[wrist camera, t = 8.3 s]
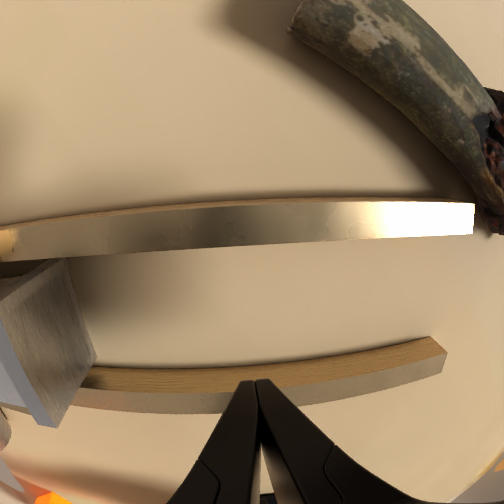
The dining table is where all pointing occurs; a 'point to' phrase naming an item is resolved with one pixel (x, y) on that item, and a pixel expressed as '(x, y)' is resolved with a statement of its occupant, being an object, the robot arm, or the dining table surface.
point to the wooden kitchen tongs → (241, 234)
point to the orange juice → (51, 499)
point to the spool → (42, 342)
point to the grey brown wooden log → (416, 84)
